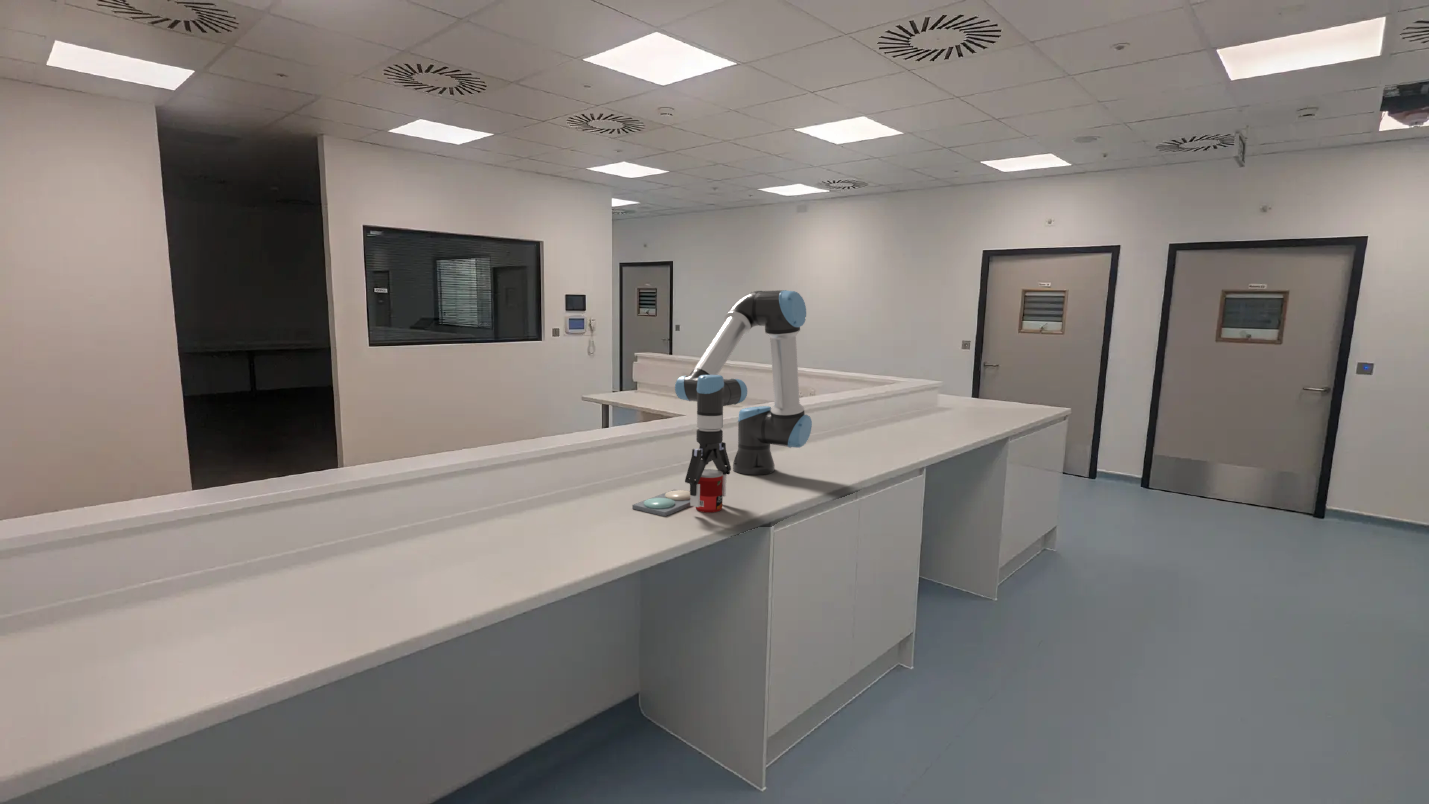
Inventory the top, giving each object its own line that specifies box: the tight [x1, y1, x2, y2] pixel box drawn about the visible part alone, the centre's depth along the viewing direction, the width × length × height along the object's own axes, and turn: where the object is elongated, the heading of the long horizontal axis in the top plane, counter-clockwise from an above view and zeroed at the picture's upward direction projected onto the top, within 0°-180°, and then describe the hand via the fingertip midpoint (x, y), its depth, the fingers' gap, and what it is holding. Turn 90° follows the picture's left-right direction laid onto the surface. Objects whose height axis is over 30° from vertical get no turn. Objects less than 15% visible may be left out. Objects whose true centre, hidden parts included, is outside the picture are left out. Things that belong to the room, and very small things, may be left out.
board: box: [631, 489, 691, 517], centre depth 194 cm, size 20×12×2 cm, turn 146°
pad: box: [643, 497, 675, 509], centre depth 189 cm, size 9×9×1 cm
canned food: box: [695, 468, 724, 514], centre depth 189 cm, size 8×8×11 cm
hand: (708, 500), depth 189 cm, fingers open, 13 cm apart
